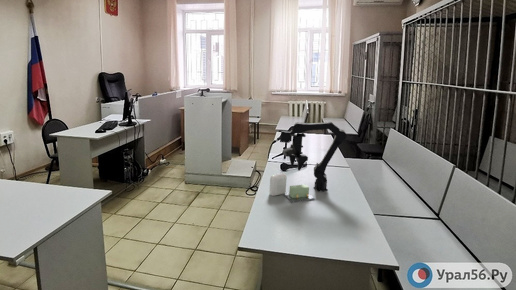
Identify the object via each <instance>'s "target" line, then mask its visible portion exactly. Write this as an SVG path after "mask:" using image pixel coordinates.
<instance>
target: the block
mask: <svg viewBox="0 0 516 290" xmlns="http://www.w3.org/2000/svg"><path fill="white" fill-rule="evenodd" d="M288 193H289V195H290V196H291V197H292V198H296V195H297V194H298V197H306V195H307V193H309V194H310V187H309V185H307V184H297V185H289V191H288Z"/></svg>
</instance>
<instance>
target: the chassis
mask: <svg viewBox="0 0 516 290" xmlns="http://www.w3.org/2000/svg"><path fill="white" fill-rule="evenodd" d="M283 196H284V197H285V198H286V199H287V200H288V201H290V202H291V203H298V202H306V201H307V202H308V201H315V197H314V196H313V195H311V194H310V192H309V193H307V195H306V197H298V194H297V195H296V198H292V197H291V196H290V195H289V192H285V193H284V194H283Z"/></svg>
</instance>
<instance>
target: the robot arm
mask: <svg viewBox="0 0 516 290" xmlns="http://www.w3.org/2000/svg"><path fill="white" fill-rule="evenodd" d="M321 130H322V131H323V130H329V131H331V132H332V133H333V135H334V137H333V139H332V143H331V144H330V146H329V148H328V150H327V151H326V153H325V154H324V156H323V158H322V160H321V161H320V162H319V163H318V162H316V164H315V166H314V167H313V175H314V177H315V181H314V186H313V189H314V190H316V191H317V192H325V191H328V189H327V187H328V178H327V177H328V176H327V174H326V169H327V166H328V165H329V163H330V161H331V159H332V158H333V156H334V154H335V153H336V151H337V149H338V148H339V146H341V145H342V144H343V143H344V142H345V140H346V139H347V133H346V132H345V130H344V129H340V128H339V127H338V126H336V125H335V124H334V123H333V122H332V121H328V122H313V123H308V122H302V121H301V122H300V121H297V122H295V123H294V125H293V127H292V129H291V130H290V131H285V130H281V131H280V136H279V142H280V143H285V144H287V143H288V144H290V143H291V142H292V144H290V146H289V147H287V148H284V149H282V153H283V156H285V157H286V158H287V157H288V158H289V162H290V166H291V167H293V166H294V164H295V161H296V162H297V171H299V172H300V171H301V169H302V168H303V166H304V164H305V163H306V162H308V160H309V157H308V155H306V154H303V151H302V149H303V148H304V145H303V138H306V137H307V136H306V134H305V132H308V131H321Z"/></svg>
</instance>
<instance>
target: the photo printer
mask: <svg viewBox="0 0 516 290" xmlns="http://www.w3.org/2000/svg"><path fill="white" fill-rule="evenodd" d="M286 190H287V175H286V174H285V173H283V172H282V173H281V172H280V173H279V172H278V173H275V174H273V175H271V176H270V178H269V191H268V192H269V195H270V196H272V197H274V196H278V195H279V196H280V195H284V193H287V192H286Z"/></svg>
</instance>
